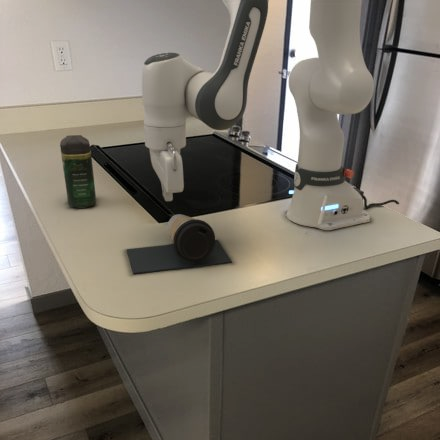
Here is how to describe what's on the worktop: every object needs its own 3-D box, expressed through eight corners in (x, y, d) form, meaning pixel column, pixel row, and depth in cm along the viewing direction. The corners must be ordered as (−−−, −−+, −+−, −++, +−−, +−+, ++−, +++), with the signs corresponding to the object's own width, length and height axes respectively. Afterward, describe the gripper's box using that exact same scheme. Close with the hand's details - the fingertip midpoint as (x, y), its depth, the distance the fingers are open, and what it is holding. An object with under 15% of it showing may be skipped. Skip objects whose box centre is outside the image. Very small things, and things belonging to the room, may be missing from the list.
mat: (217, 241, 119) (217, 239, 119) (231, 262, 109) (231, 261, 109) (126, 250, 113) (126, 249, 113) (133, 274, 103) (133, 272, 103)
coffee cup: (197, 206, 117) (218, 220, 104) (197, 243, 120) (217, 262, 107) (159, 207, 114) (175, 222, 101) (160, 246, 117) (175, 265, 104)
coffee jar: (97, 207, 137) (89, 140, 127) (68, 210, 135) (58, 141, 125) (96, 196, 145) (88, 132, 135) (68, 198, 143) (58, 133, 133)
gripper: (190, 148, 97) (191, 214, 104) (170, 126, 114) (172, 184, 121) (159, 150, 95) (162, 216, 102) (143, 127, 112) (147, 186, 119)
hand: (167, 199), depth 112 cm, fingers closed
